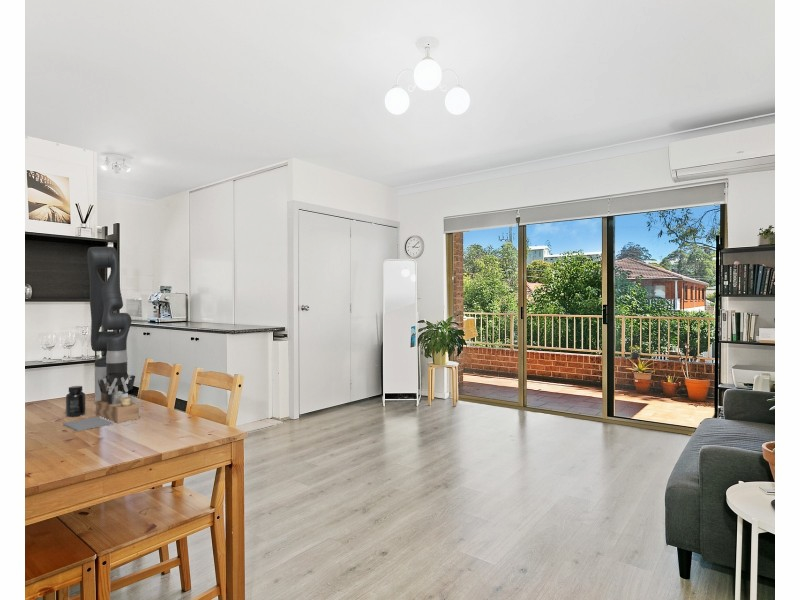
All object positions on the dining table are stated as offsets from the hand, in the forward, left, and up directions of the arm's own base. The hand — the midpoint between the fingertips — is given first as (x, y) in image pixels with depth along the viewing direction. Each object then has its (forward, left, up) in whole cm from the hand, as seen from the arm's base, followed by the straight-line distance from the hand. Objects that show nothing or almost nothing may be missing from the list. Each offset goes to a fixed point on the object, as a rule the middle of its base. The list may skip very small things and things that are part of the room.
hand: (117, 401), depth 198 cm
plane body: (0, 0, -6) cm, 6 cm away
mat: (+3, -12, -6) cm, 14 cm away
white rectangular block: (0, 0, 0) cm, 0 cm away
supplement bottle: (-17, -9, -7) cm, 20 cm away
